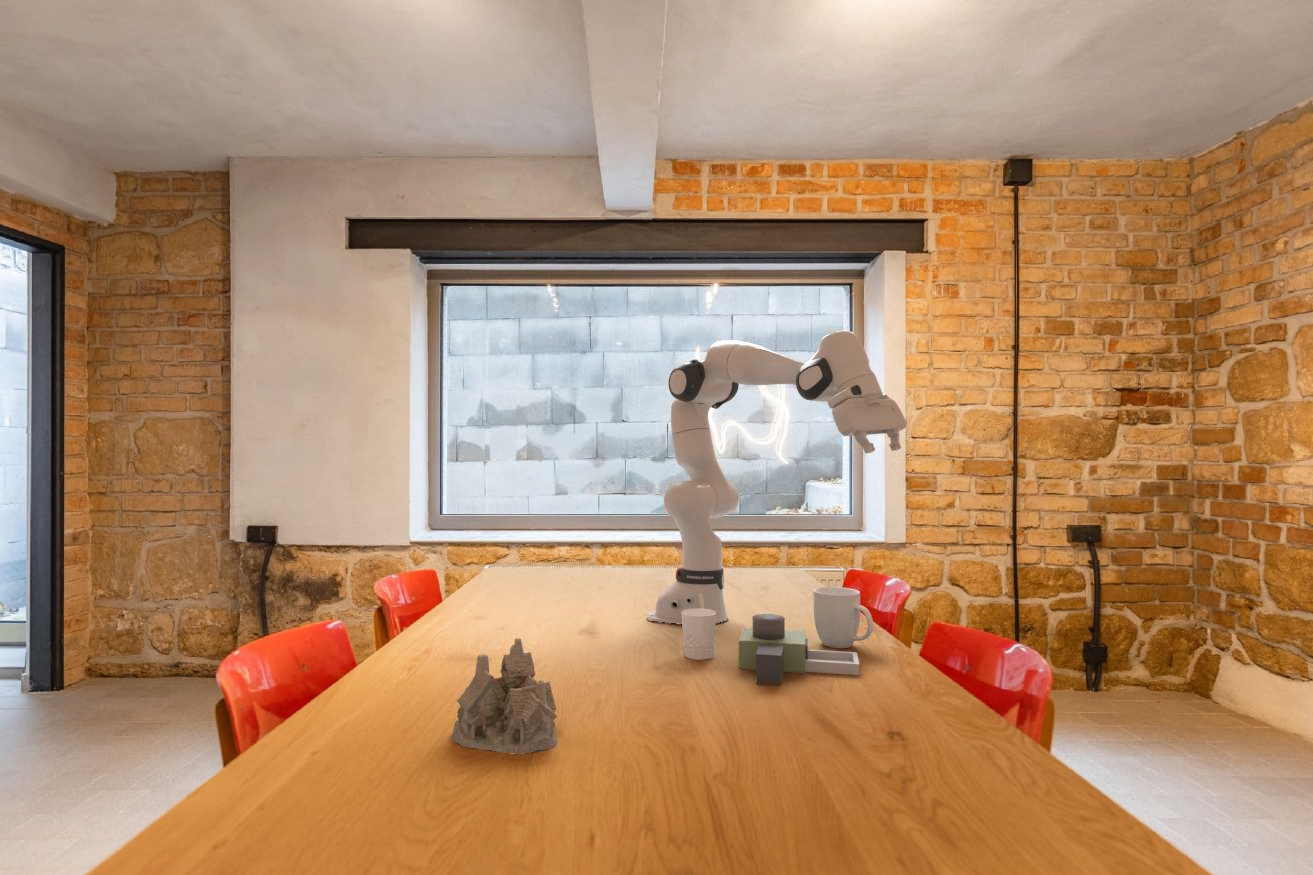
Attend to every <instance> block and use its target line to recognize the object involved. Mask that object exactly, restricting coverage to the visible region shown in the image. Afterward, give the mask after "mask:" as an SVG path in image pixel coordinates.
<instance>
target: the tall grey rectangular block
mask: <svg viewBox="0 0 1313 875" xmlns="http://www.w3.org/2000/svg"><path fill="white" fill-rule="evenodd" d="M755 672H756V674H755V676H756V678H755V680H756V682H755V684H757V685H768V686H770V685H771V686H781V685H783V679H784V672H783V645H773V644H759V647H758V650H757V653H756V670H755Z"/></svg>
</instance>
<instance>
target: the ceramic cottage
mask: <svg viewBox="0 0 1313 875" xmlns="http://www.w3.org/2000/svg"><path fill="white" fill-rule="evenodd" d="M489 664H490V663H489V655H487V654H478V655H477V658H476V664H475V665H476V666H475V674H474V677H472V680H471V682H470V683H469V685H468V686H467V687H466V688H465V690H464V692H463V693H462V694H461V695H460V697H459V698H457V700H456V702H457V703H458V704H459V708H458V709H457V720H456V721H455V722H454V725H453V730H452V734H451V738H452V737H453V738H452V740H453V742H455V743H456V744H458V745H460V746H461V747H463V748H470V749H476V750H480V751H481V750H482V751H487V750H492V751H491V752H494V751H496V752H495V753H500V752H504V753H503V754H506V753H514V754H515V753H516V754H521V755H523V754H522V753H527V754H528V753H530V754H532V753H536V752H538V750H539V751H544V750H549V748H550V749H552V748H555V745H556V746H557V744H558V737H557V729H556V722H555V720H556V719H557V715H556V713H555V712H557V706H556V702H555V698H554V694H553V692H552V686H551V683H550V681H544V680H538V682H537V680H536V679H534V677H535V676H536V671H535V664H534V660H533V656H532V652H531V651H528V652H524V647H523V642H522V639H521V638H517V637H516V638H514V644H512V645H511V646H510V648H509V654H503V657H502V661H501V669H500V674H501V676H500V677H496V678H495V677H494V675H492V674H490V666H489ZM551 747H552V748H551ZM497 751H498V752H497ZM531 752H532V753H531ZM514 754H513V755H514Z"/></svg>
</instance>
